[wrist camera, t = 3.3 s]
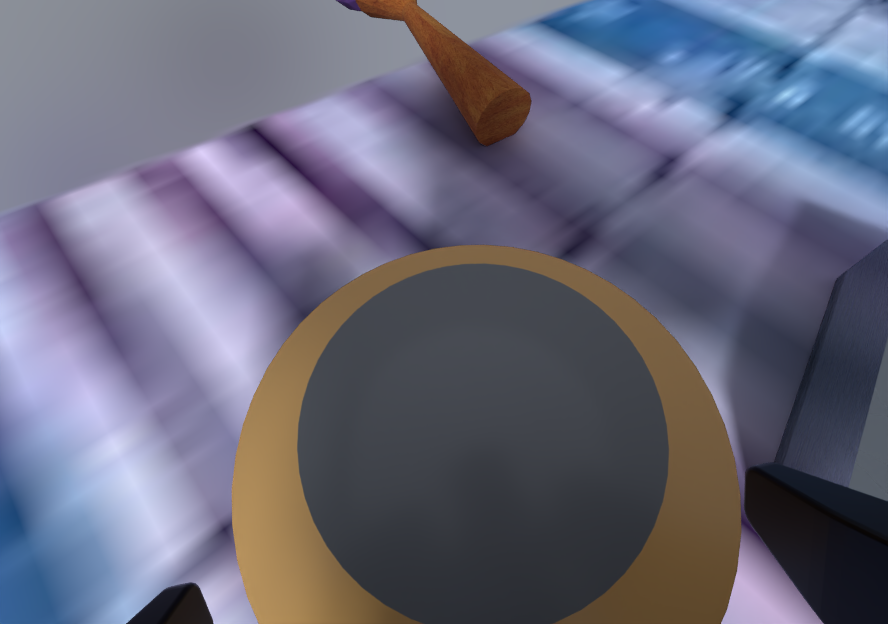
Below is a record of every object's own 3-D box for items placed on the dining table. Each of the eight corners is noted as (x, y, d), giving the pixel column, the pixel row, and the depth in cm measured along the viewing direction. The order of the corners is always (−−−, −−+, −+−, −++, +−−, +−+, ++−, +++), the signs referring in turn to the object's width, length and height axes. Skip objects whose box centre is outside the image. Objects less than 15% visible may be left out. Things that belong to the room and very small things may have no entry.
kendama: (443, 103, 20) (282, -94, 27) (462, 183, 25) (323, 1, 33) (556, 35, 20) (365, -143, 28) (550, 129, 26) (392, -40, 33)
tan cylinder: (575, 502, 15) (882, 334, 4) (498, 652, 13) (651, 1190, 2) (454, 421, 17) (415, 131, 5) (370, 545, 15) (42, 498, 4)
